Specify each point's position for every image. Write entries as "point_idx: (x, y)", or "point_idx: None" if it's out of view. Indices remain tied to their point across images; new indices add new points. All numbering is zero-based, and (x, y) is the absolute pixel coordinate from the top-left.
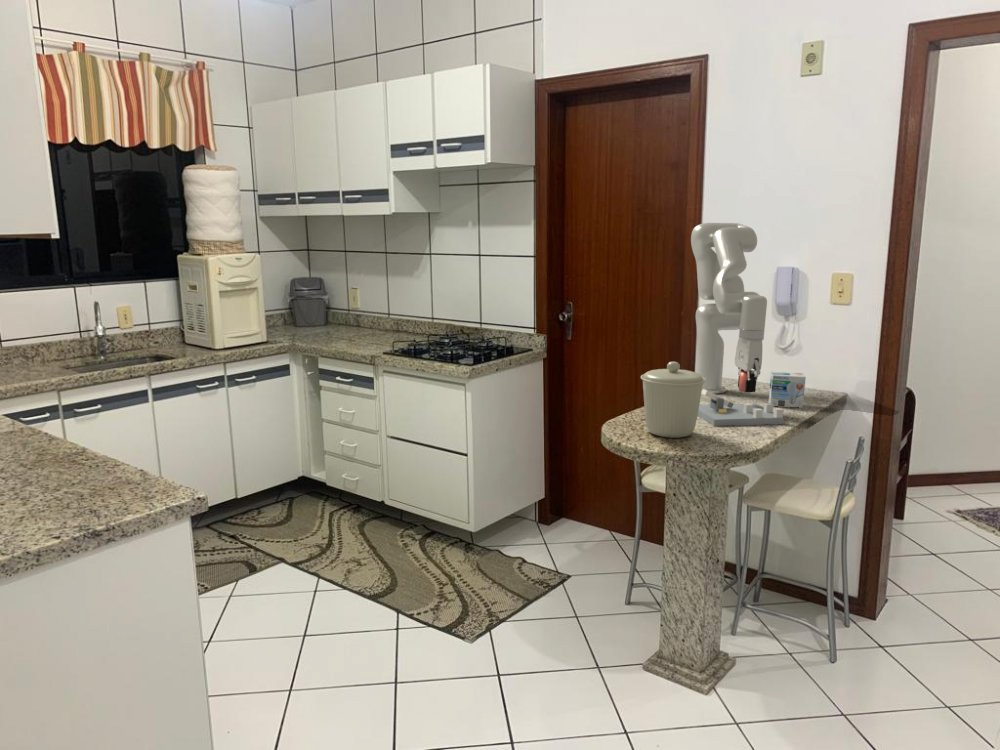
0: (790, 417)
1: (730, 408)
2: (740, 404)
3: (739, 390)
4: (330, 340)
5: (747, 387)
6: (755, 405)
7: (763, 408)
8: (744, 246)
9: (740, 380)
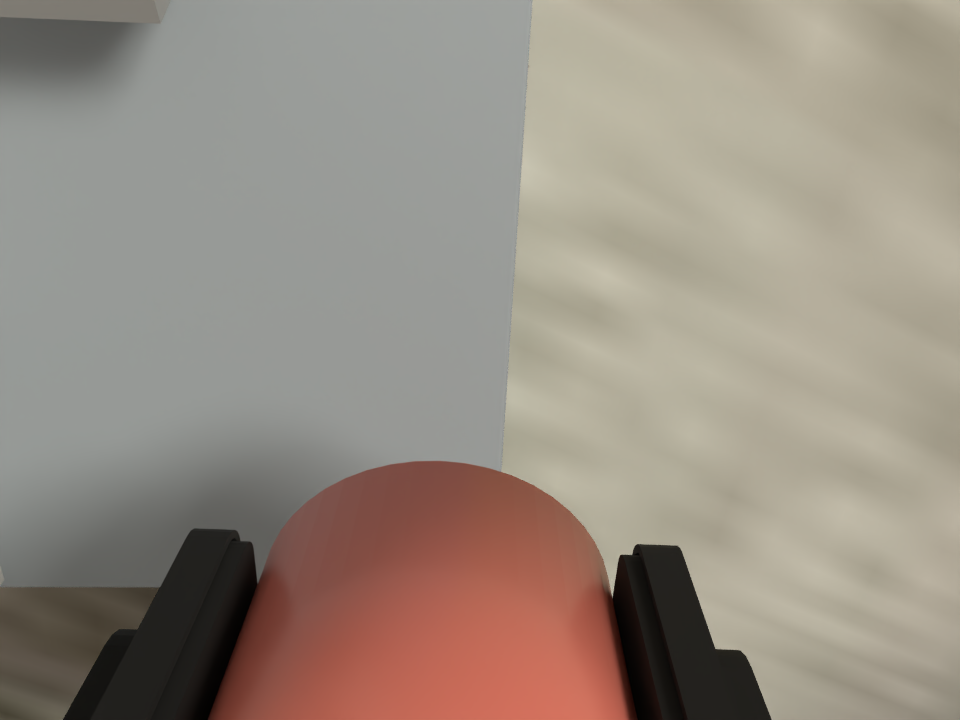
0: (52, 715)
1: None
2: (454, 357)
3: (430, 465)
4: None
5: (152, 635)
6: None
7: (153, 563)
8: None
9: (396, 686)
